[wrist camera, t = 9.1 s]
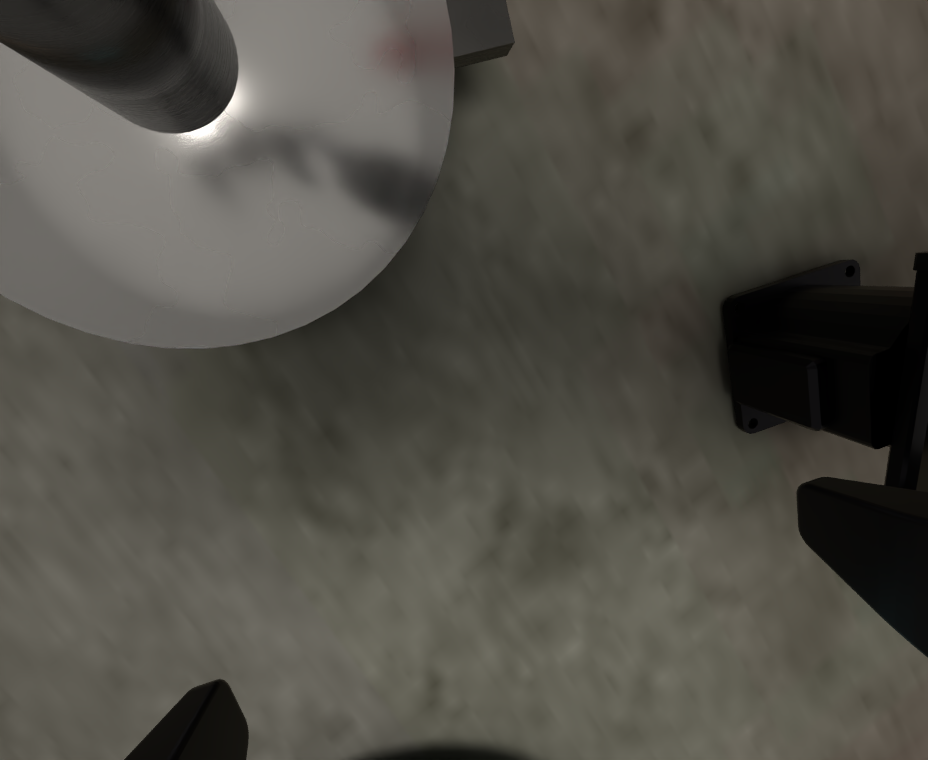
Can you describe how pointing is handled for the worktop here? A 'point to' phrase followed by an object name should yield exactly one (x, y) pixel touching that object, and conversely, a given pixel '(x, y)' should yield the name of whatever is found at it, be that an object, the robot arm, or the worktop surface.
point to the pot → (479, 30)
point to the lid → (213, 158)
